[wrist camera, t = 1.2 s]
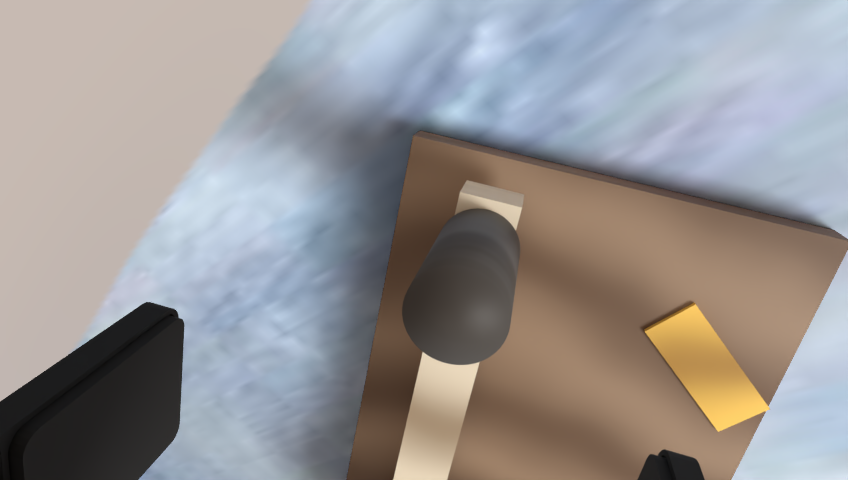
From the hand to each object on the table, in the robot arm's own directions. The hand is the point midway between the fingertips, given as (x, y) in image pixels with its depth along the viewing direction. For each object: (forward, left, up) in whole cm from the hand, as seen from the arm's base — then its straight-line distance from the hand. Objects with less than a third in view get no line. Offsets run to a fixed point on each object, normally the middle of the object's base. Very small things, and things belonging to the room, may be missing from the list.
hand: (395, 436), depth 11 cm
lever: (-9, 0, -14) cm, 17 cm away
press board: (-10, -5, -17) cm, 20 cm away
